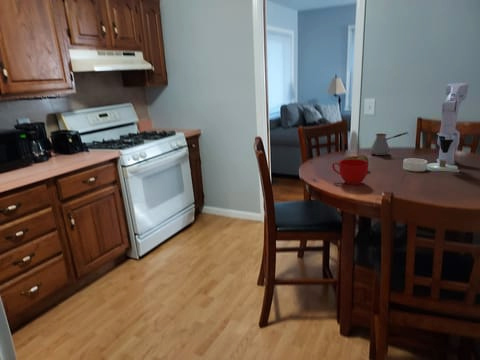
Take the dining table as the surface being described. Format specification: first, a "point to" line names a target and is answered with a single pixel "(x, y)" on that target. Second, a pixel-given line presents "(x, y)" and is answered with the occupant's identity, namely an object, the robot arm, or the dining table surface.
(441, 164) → the lid
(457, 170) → the mat
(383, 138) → the coffee pot
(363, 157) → the tin
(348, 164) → the ceramic cup
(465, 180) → the dining table surface
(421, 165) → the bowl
